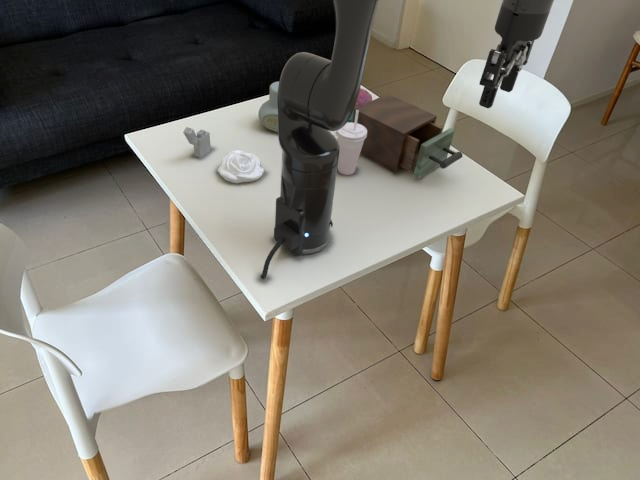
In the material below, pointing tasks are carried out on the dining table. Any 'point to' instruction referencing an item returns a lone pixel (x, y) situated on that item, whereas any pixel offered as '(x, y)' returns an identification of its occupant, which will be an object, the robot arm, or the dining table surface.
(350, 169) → the smoothie
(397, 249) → the dining table surface
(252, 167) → the rose
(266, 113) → the air freshener
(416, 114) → the cabinet
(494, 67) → the robot arm
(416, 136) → the drawer
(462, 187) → the dining table surface
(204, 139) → the lighter
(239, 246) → the dining table surface
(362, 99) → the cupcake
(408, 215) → the dining table surface
